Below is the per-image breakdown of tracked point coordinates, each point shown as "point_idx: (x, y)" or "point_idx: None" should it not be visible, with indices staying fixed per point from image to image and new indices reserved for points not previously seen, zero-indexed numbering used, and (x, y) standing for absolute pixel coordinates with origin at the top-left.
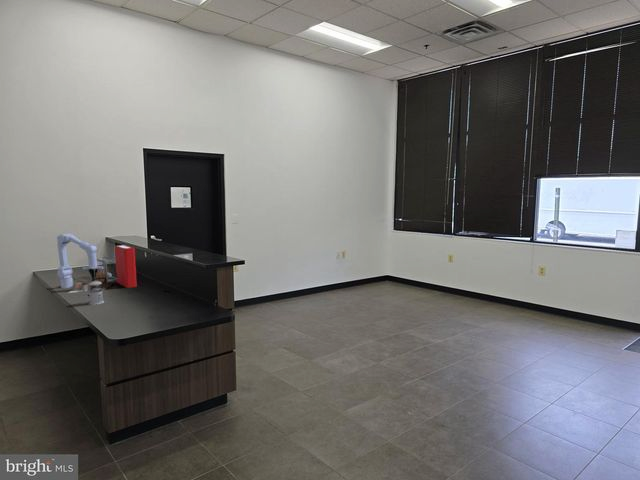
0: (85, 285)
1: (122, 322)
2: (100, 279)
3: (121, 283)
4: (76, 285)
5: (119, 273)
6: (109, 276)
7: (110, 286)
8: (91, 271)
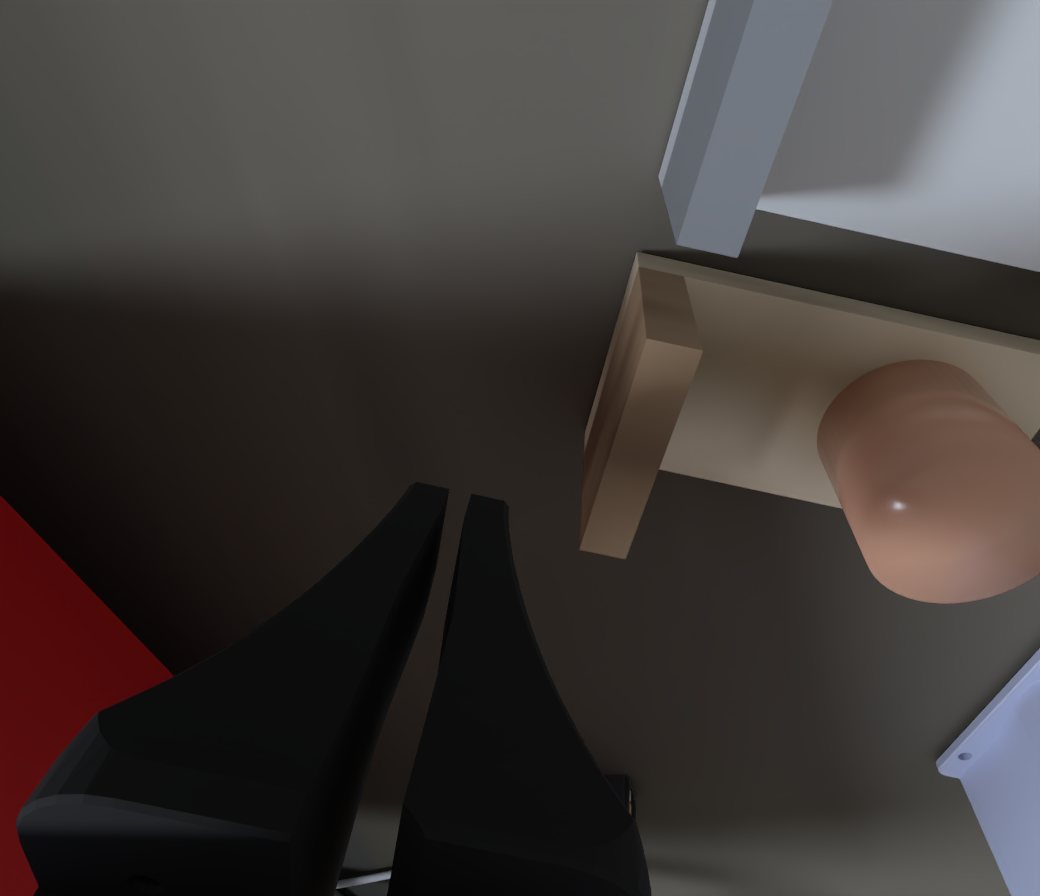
0: (750, 75)
1: None
2: None
3: (69, 609)
4: (1028, 439)
5: (2, 861)
6: None
7: (258, 550)
8: (419, 758)
